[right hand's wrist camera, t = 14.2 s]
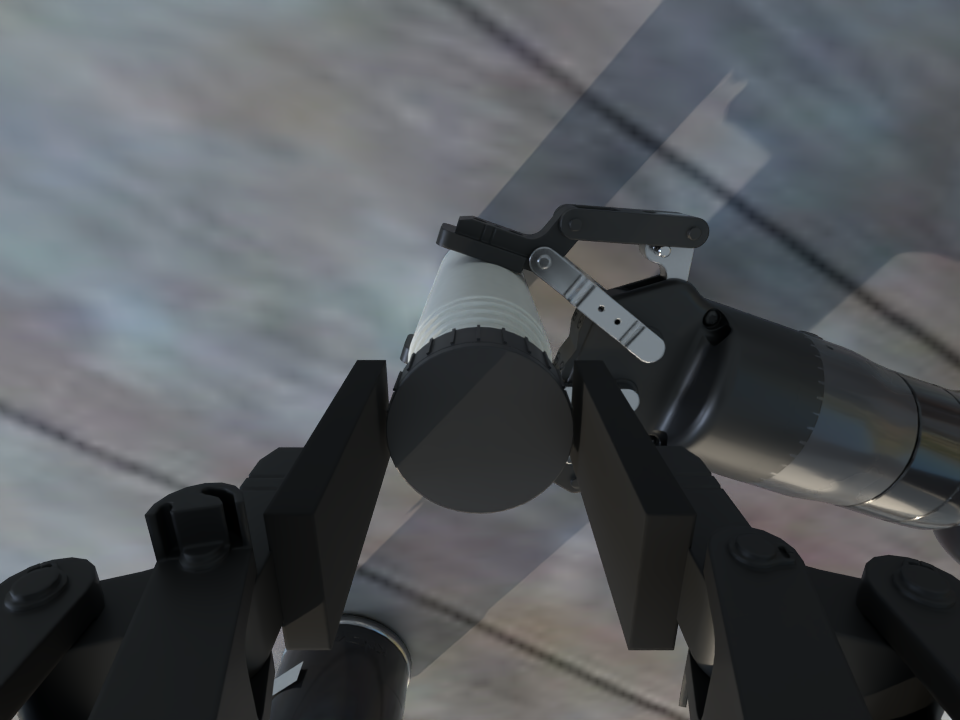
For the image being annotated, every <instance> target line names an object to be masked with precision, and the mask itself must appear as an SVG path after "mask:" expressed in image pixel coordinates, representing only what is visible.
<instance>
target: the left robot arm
mask: <svg viewBox="0 0 960 720" xmlns="http://www.w3.org/2000/svg"><path fill="white" fill-rule="evenodd" d="M708 236H709V227H708V224H707V223H706V222H705V221H704V220H703V219H701V218H697V217H693V216H690V215H686V214H682V213H678V212H667V211H653V210H640V209H626V208H613V207H599V206H586V205H573V204H564V205H561V206H560V207H558V208H557V209H556V211H555V212H554V215H553V217H552V218H551V219H550V221H549V222H548V223H547V224H546V225H545V227H544V228H543V229H542V230H541V231H539V232H538V233H535V234H532V235H527V234H523V233H520V232H517V231H514V230H511V229H509V228H506V227H503V226H500V225H497V224H494V223H491V222H489V221H485V220H483V219H480V218H477V217H474V216H460V218H459V221H458V224H457V227H456V226H453V225H450V224H446V223H443V224H442V226H441V228H440V232H439V235H438V238H437V241H436V243H437V244H438V245H440V246H442V247H444V248H447V249H450V250H453V251H456V252H459V253H462V254H465V255H467V256H470V257H473V258H476V259H479V260H482V261H485V262H488V263H491V264H494V265H498V266H501V267H503V268H505V269H508V270H511V271H514V272H517V273H520V274H521V273H522V270H523V268H524V269H526V270H529V271H532V272H534V273H535V274H536V275H537V276H538V277H540V278H541V279H542V280H543V281H545V282H546V283H547V284H549V285H550V286H551V287H552V288H554V289H555V290H556V291H557V292H559V293H560V294H561V295H562V296H564V297H565V298H566V299H567V300H568V301H569V302H570V303H571V304H572V305H573V306H574V307H576V309H575V312H574V314H573V317H572V319H571V327H570V334H569V337H568V338H567V339H566V341H565V342H564V343H563V345H562V346H561V347H560V349H559V350H558V353H557V355H556V358H555V360H552V364H553V365H554V367H555V368H556V370H557V369H559V371H560V373H561V376H562V379H563V381H564V384H565V387H566V388H565V389H564V390H566V391H567V394H568V396H569V399H570V402H571V399H572V384H573V369H574V360H603V361H604V363H605V365H606V366H607V368H608V370H609V371H610V373H611V375H612V376H613V378H614V379H615V381H616V383H617V384H618V386H619V388H620V389H621V391H622V392H623V394H624V396H625V397H626V399H627V401H628V402H629V404H630V406H631V407H632V409H633V410H634V412H635V414H636V415H637V417H638V419H639V420H640V422H641V423H642V425H643V427H644V428H645V430H646V432H647V433H648V435H649V437H650V438H651V440H652V441H653V443H654V445H655V446H683V447H684V448H686V449H687V450H689V451H690V452H692V453H693V454H695V455H696V456H698V457H699V458H701V460H702V461H703V463H704V464H705V465H706V467H707V468H708V469H709V471H710V472H712V473H715V474H718V475H721V476H725V477H728V478H731V479H734V480H737V481H741V482H744V483H748V484H751V485H754V486H757V487H760V488H764V489H767V490H770V491H773V492H776V493H780V494H783V495H787V496H791V497H795V498H800V499H807V500H814V501H820V502H825V503H829V504H833V505H836V506H839V507H842V508H845V509H849V510H852V511H855V512H858V513H861V514H865V515H868V516H871V517H874V518H877V519H881V520H884V521H888V522H891V523H895V524H898V525H902V526H906V527H910V528H915V529H922V530H933V532H934V534H935V536H936V538H937V540H938V541H939V543H940V544H941V545H942V547H943V548H944V549H945V551H946V552H947V553H948V554H949V555H950V556H951V557H952V558H953V559H954V560H955V561H956V562H957V563H959V564H960V390H948V389H945V388H942V387H940V386H937V385H934V384H930V383H927V382H925V381H922V380H919V379H916V378H913V377H910V376H907V375H905V374H902V373H899V372H896V371H893V370H890V369H888V368H885V367H883V366H880V365H878V364H876V363H874V362H872V361H870V360H869V359H867V358H865V357H863V356H861V355H860V354H858V353H856V352H854V351H852V350H849V349H847V348H844V347H842V346H839V345H836V344H833V343H830V342H828V341H825V340H823V339H822V338H820V337H818V336H817V335H815V334H812V333H809V332H805V331H797V330H794V329H791V328H788V327H785V326H782V325H780V324H777V323H774V322H771V321H768V320H765V319H762V318H759V317H757V316H754V315H751V314H748V313H745V312H742V311H740V310H737V309H734V308H731V307H728V306H725V305H722V304H720V303H717V302H714V301H711V300H708V299H706V298H704V297H702V296H701V295H700V294H699V292H698V291H697V290H696V288H695V287H694V286H693V285H692V284H691V283H689V282H688V277H689V272H690V267H691V263H692V258H693V253H694V248H697V247H699V246H701V245H702V244H704V243H705V241H706V240H707V238H708ZM578 240H583V241H597V242H610V243H624V244H638V245H639V250H640V253H641V254H642V256H643V257H645V258H646V259H648V260H650V261H651V262H654V263H657V264H658V265H659V267H660V275H657V276H654V277H650V278H647V279H643V280H640V281H637V282H633V283H630V284H626V285H623V286H620V287H616V288H613V289H609V290H606V289H605V288H604V287H602V286H601V285H600V284H599V283H597V282H596V281H595V280H594V279H593V278H591V277H590V276H589V275H588V274H586V273H585V272H584V271H583V270H582V269H580V268H579V267H578V266H576V265H575V264H574V263H572V262H571V261H570V260H569V259H567V258H566V257H565V255H566V254H567V253H568V251H569V250H570V249H571V248H572V247H573V246H574V244H575V243H576V242H577V241H578ZM413 336H414V334H409V335H408V336H407V339H406V341H405V344H404V347H403V350H402V353H401V357H400V359H401V361H403V362H404V363H406V364H408V353H409V349H410V344H411V342H412V339H413ZM554 483H555V484H557V485H559V486H561V487H562V488H564V489H566V490H567V491H569V492H572V493H578V492H581V491H580V488H579V485H578V482H577V478H576V475H575V472H574V468H573V465H572V462H571V458H570V456H569V458H568V460H567V462H566V465H565V466H564V468H563V470H562V471H561V473H560V474H559V476H558V477H557V478H556V479H555V481H554ZM410 673H411V659H410V655H409V652H408V650H407V648H406V646H405V645H404V643H403V642H402V640H401V639H400V638H399V637H398V636H397V635H396V634H395V633H394V632H392V631H391V630H390V629H388V628H387V627H385V626H383V625H382V624H380V623H378V622H375V621H373V620H370V619H367V618H363V617H359V616H352V615H342V617H341V620H340V623H339V627H338V630H337V633H336V637H335V640H334V643H333V646H332V650H286V648H285V650H284V653H283V655H282V660H281V664H280V666H279V669H278V671H277V674H276V677H275V679H274V686H273V695H272V704H271V713H270V720H403V714H404V706H405V699H406V691H407V687H408V684H409V680H410Z"/></svg>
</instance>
